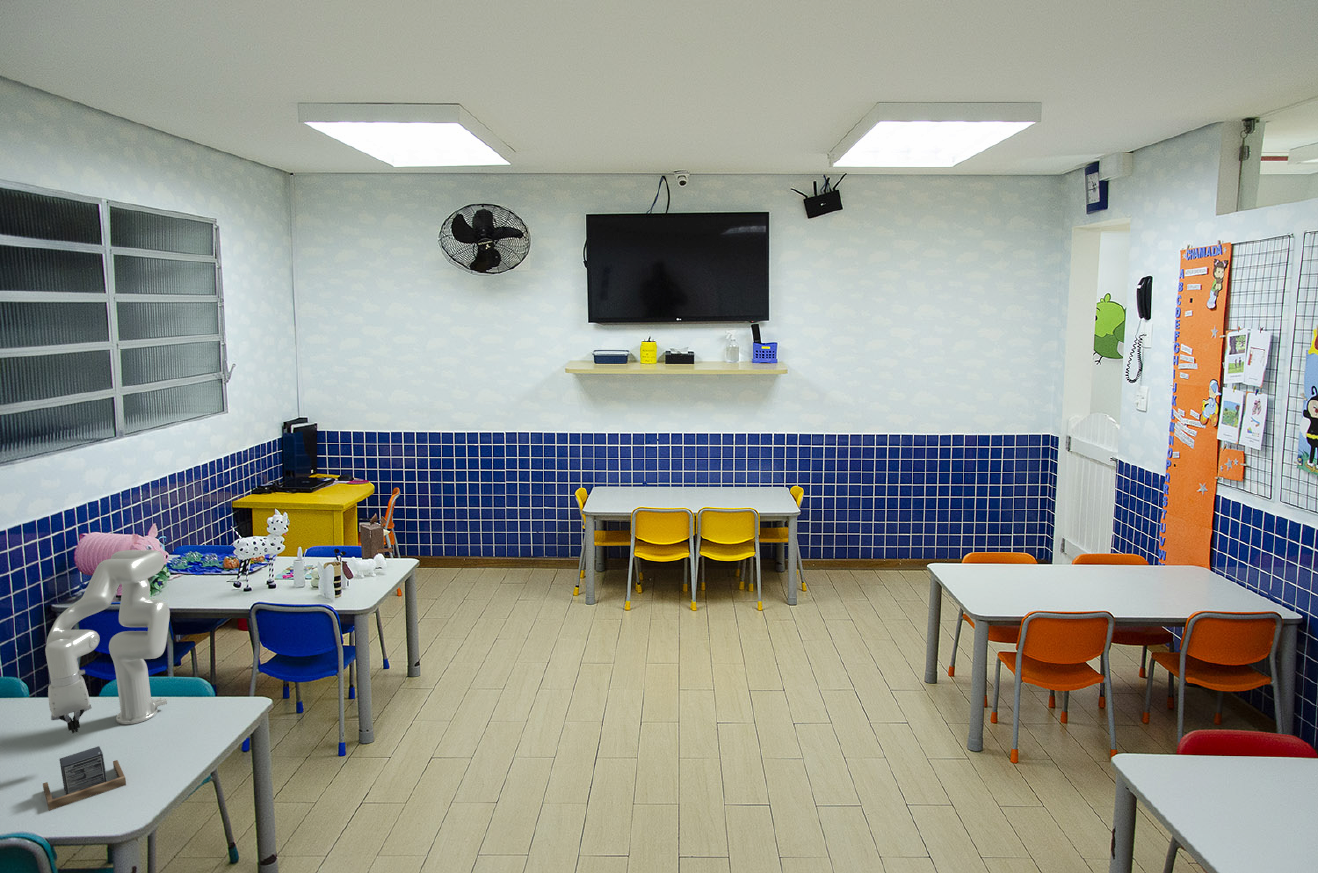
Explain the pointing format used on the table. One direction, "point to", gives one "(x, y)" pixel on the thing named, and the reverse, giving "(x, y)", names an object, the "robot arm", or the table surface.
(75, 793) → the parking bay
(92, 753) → the small box
